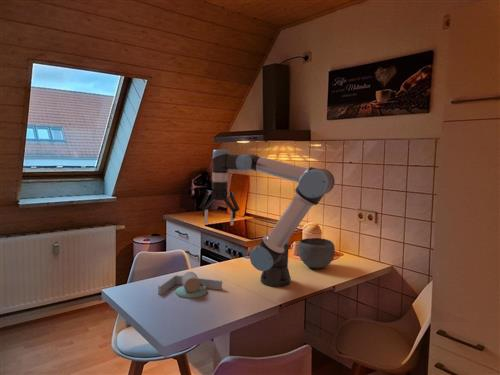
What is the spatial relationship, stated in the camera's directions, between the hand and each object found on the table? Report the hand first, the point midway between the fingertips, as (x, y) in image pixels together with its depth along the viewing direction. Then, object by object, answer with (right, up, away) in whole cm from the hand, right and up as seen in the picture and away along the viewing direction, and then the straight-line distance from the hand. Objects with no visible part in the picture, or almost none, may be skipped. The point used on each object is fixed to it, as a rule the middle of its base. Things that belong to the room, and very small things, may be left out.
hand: (218, 224), depth 187 cm
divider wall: (-10, -29, -6) cm, 31 cm away
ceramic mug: (-11, -29, -13) cm, 34 cm away
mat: (-12, -30, -14) cm, 35 cm away
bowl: (+53, -28, +30) cm, 67 cm away
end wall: (-23, -29, -11) cm, 39 cm away
